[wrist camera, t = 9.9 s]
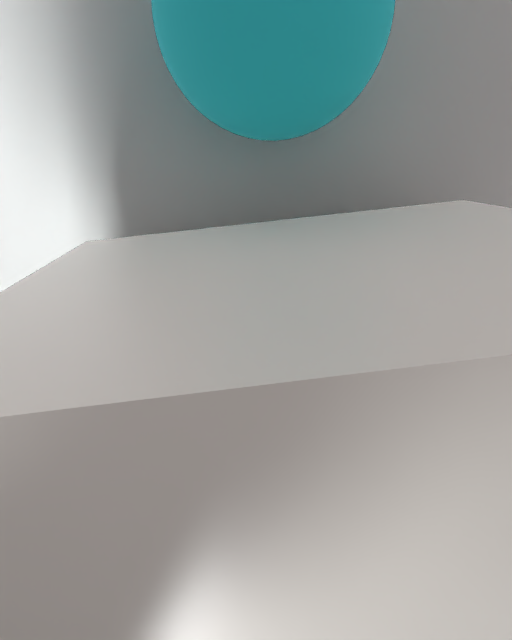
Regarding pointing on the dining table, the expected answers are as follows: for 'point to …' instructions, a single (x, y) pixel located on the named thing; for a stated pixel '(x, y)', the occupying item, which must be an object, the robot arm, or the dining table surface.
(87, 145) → the dining table surface
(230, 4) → the ball
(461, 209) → the white box
